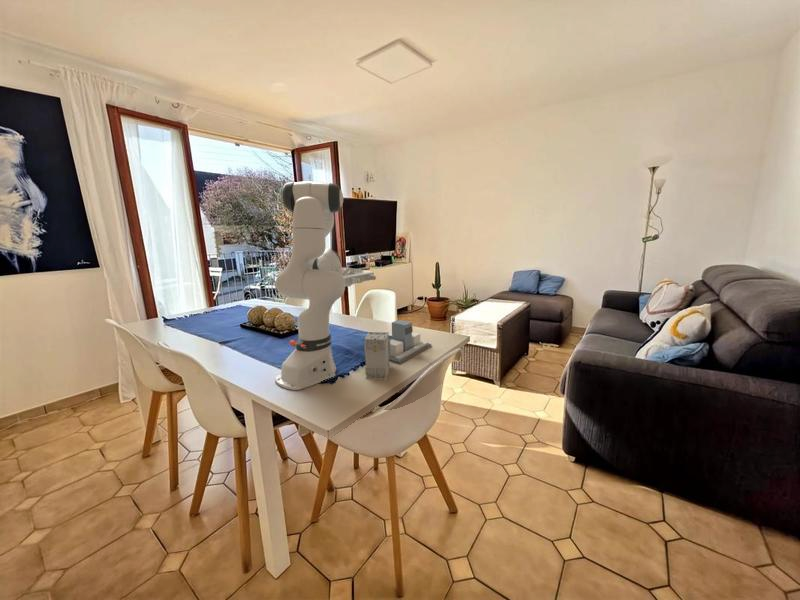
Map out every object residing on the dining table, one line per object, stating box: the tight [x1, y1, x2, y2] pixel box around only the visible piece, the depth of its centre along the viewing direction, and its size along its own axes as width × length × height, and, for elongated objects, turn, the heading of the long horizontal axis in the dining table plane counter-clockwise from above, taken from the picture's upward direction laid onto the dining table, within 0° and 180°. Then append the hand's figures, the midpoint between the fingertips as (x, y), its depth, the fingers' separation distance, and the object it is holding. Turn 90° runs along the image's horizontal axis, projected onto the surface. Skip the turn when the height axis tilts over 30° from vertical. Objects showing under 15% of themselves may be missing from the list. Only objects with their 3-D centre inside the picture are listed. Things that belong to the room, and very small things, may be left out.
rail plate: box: [389, 332, 432, 365], centre depth 143 cm, size 24×14×6 cm, turn 143°
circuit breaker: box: [363, 331, 391, 380], centre depth 123 cm, size 8×14×15 cm, turn 174°
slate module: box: [391, 319, 413, 352], centre depth 142 cm, size 5×8×12 cm, turn 53°
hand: (368, 279), depth 148 cm, fingers open, 8 cm apart
